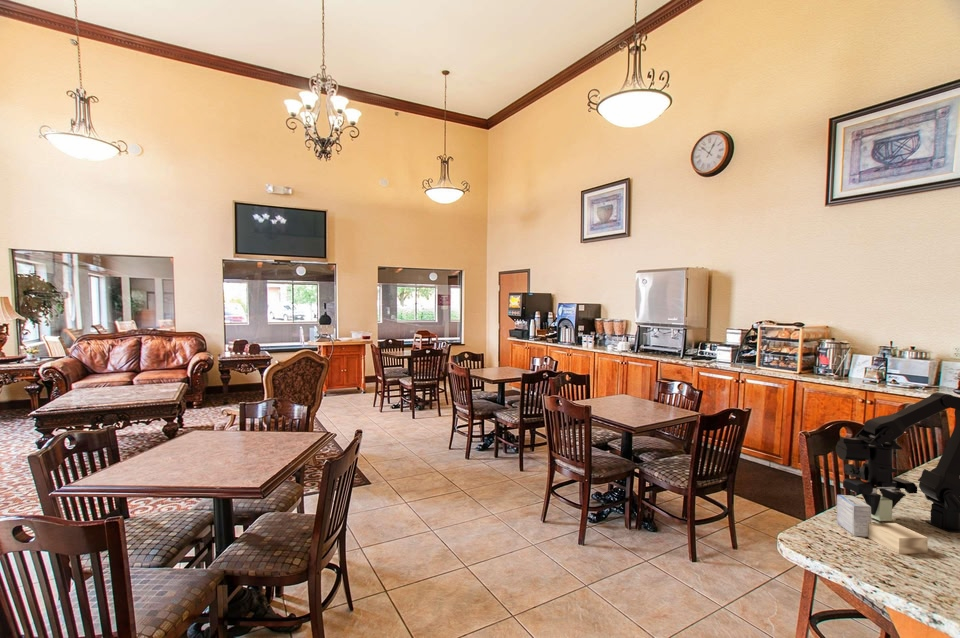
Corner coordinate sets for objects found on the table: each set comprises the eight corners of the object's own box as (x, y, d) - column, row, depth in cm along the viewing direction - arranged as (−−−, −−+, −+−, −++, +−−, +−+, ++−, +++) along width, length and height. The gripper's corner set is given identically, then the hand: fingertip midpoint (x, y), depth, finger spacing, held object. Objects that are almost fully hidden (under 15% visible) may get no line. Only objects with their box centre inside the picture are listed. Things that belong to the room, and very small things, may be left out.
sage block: (878, 514, 132) (878, 494, 132) (892, 520, 128) (892, 500, 128) (866, 514, 132) (866, 495, 132) (879, 520, 128) (879, 500, 128)
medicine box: (871, 538, 119) (872, 506, 119) (853, 536, 120) (853, 505, 120) (853, 524, 127) (853, 495, 127) (836, 523, 128) (836, 494, 128)
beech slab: (895, 537, 120) (895, 523, 120) (927, 552, 112) (927, 537, 112) (868, 538, 119) (868, 523, 119) (899, 553, 111) (899, 538, 111)
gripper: (881, 453, 139) (880, 502, 139) (827, 454, 138) (826, 503, 138) (919, 465, 128) (918, 518, 128) (860, 466, 127) (860, 519, 126)
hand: (879, 514), depth 130 cm, fingers closed on sage block, 4 cm apart
